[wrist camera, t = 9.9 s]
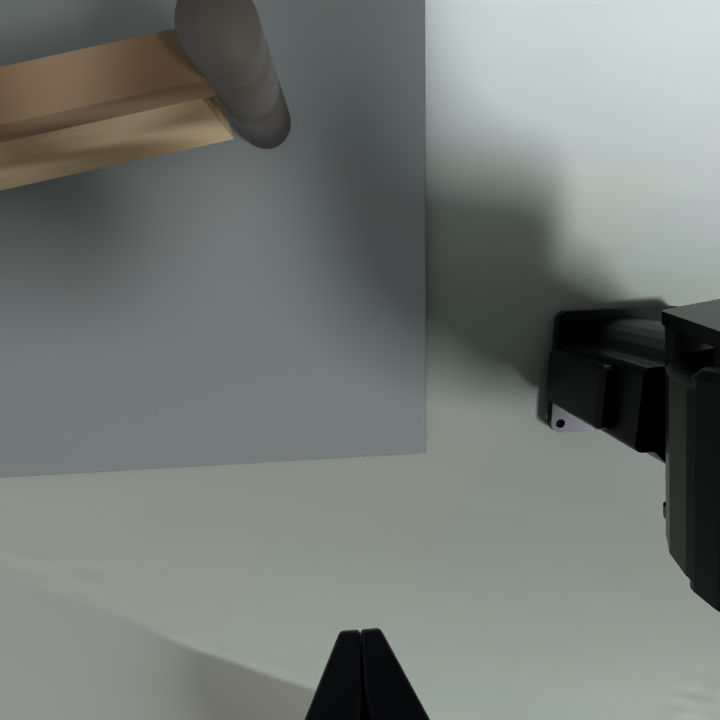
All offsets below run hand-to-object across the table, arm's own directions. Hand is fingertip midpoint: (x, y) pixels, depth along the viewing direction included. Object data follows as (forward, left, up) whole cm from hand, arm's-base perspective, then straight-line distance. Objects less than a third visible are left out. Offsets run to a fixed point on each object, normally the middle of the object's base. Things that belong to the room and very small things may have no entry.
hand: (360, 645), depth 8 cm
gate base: (+8, -8, -13) cm, 17 cm away
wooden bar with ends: (+10, -13, -12) cm, 20 cm away
